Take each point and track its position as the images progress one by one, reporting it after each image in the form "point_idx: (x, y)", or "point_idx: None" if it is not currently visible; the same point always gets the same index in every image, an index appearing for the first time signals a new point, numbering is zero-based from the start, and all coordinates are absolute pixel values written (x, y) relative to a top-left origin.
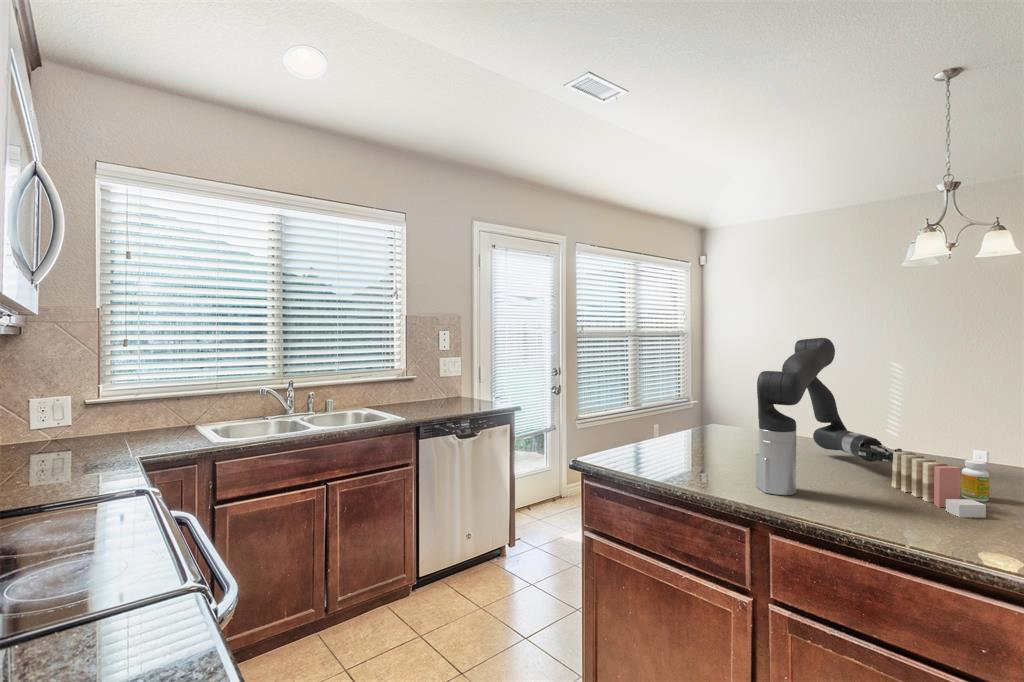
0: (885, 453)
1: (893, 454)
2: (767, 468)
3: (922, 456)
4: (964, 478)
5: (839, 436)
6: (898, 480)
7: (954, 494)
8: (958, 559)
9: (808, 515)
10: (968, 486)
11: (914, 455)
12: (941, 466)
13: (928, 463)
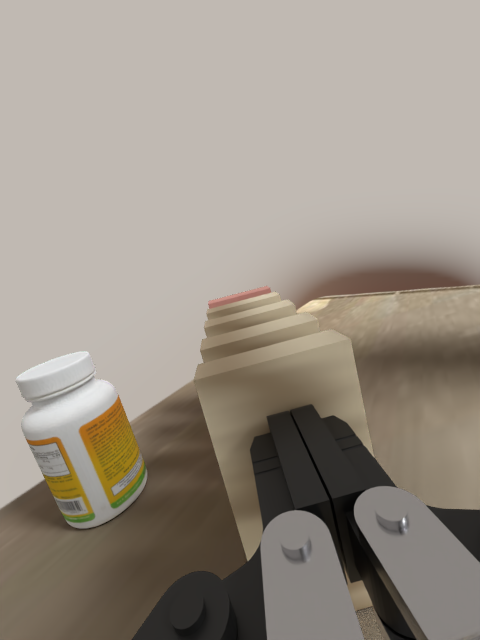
0: (427, 515)
1: (353, 360)
2: None
3: (214, 336)
4: (121, 416)
5: None
6: None
7: None
8: (350, 296)
9: None
10: (132, 432)
11: (245, 333)
12: (250, 292)
13: (269, 293)
